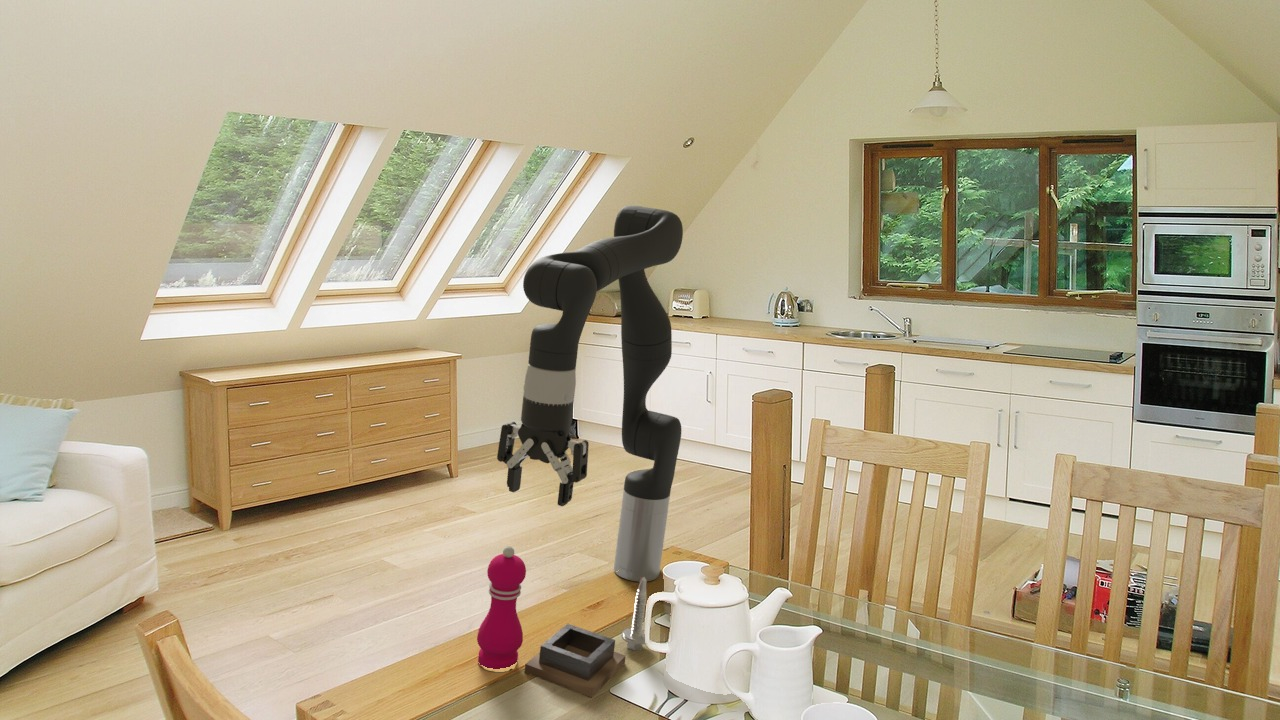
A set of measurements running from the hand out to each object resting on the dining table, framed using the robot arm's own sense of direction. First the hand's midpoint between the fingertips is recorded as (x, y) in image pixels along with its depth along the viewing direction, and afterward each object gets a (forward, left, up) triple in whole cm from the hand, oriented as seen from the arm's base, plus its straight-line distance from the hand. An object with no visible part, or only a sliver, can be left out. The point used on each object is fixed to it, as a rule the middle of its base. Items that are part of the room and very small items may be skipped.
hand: (538, 497), depth 146 cm
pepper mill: (0, -4, -30) cm, 30 cm away
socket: (-6, +7, -28) cm, 29 cm away
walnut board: (-6, +7, -29) cm, 31 cm away
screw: (-18, +12, -30) cm, 37 cm away
